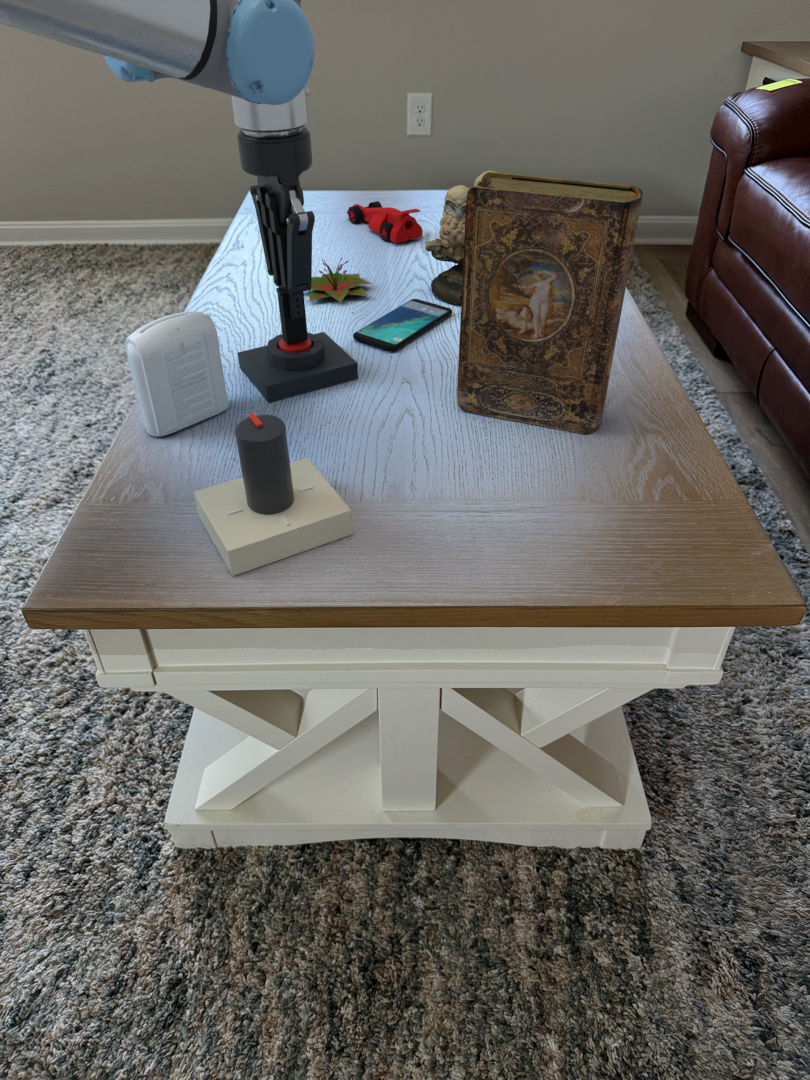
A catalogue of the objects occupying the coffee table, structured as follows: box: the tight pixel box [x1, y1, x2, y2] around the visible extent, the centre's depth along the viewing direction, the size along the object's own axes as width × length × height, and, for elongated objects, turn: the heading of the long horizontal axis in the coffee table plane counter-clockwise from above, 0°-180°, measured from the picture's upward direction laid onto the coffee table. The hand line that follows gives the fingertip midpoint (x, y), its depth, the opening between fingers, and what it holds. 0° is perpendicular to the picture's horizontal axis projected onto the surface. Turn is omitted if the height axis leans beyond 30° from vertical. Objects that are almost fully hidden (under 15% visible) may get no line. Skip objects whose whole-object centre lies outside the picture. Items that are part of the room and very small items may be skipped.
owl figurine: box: [424, 169, 496, 306], centre depth 112 cm, size 18×12×17 cm, turn 82°
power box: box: [236, 331, 359, 403], centre depth 98 cm, size 12×10×4 cm
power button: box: [279, 337, 312, 353], centre depth 97 cm, size 4×4×2 cm
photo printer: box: [124, 310, 229, 438], centre depth 87 cm, size 10×4×12 cm, turn 134°
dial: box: [234, 412, 294, 514], centre depth 71 cm, size 4×4×8 cm
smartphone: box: [352, 298, 453, 352], centre depth 109 cm, size 7×1×15 cm
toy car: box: [346, 200, 423, 244], centre depth 138 cm, size 6×18×5 cm, turn 33°
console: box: [192, 456, 353, 577], centre depth 75 cm, size 12×10×3 cm
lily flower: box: [308, 257, 374, 304], centre depth 117 cm, size 12×12×5 cm
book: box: [456, 171, 644, 435], centre depth 84 cm, size 16×6×25 cm, turn 70°
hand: (295, 339), depth 96 cm, fingers closed
